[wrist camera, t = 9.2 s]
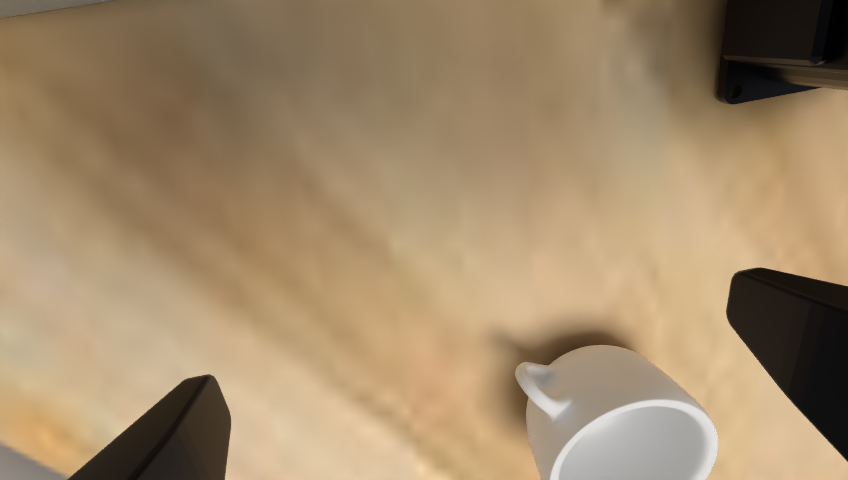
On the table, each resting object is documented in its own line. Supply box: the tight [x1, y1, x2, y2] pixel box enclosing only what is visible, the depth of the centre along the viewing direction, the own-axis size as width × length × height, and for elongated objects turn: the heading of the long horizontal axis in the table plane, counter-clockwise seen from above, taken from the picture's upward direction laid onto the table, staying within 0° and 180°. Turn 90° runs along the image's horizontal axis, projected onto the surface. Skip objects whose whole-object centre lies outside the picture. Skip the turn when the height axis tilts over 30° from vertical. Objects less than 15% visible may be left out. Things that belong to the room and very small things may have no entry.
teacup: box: [515, 345, 718, 480], centre depth 22 cm, size 10×8×5 cm
